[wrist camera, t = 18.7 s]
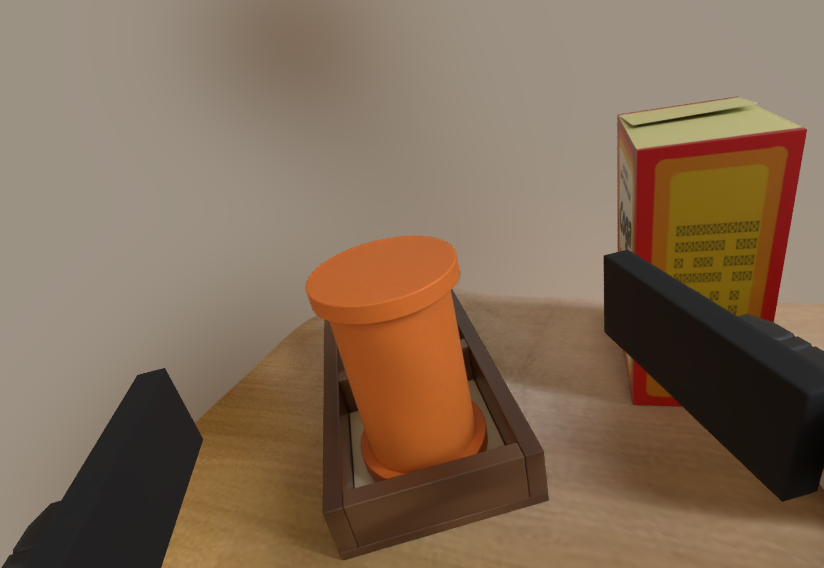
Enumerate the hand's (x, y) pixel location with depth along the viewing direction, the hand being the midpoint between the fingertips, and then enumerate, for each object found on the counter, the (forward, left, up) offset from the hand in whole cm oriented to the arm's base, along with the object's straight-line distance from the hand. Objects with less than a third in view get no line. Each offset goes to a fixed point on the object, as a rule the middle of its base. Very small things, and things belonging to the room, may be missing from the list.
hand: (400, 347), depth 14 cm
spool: (0, +10, -13) cm, 16 cm away
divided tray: (0, +15, -14) cm, 20 cm away
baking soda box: (+18, +12, -14) cm, 26 cm away
